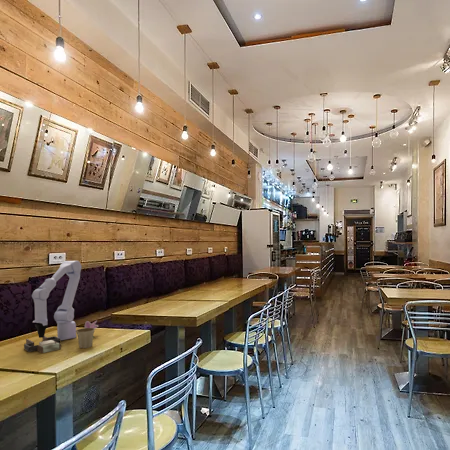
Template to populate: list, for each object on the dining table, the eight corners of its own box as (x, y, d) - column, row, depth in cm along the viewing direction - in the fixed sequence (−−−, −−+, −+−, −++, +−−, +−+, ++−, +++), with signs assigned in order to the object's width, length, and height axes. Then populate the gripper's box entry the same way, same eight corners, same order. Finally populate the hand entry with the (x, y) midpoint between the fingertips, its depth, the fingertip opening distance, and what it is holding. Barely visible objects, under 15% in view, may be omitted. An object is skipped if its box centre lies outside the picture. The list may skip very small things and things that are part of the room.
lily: (102, 335, 223) (96, 321, 225) (104, 331, 213) (97, 316, 215) (82, 345, 217) (75, 330, 219) (82, 341, 207) (76, 325, 209)
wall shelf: (51, 338, 216) (51, 333, 216) (68, 347, 196) (68, 341, 196) (18, 345, 204) (18, 339, 204) (33, 354, 184) (33, 348, 184)
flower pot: (99, 345, 198) (99, 328, 198) (85, 350, 189) (85, 332, 190) (85, 343, 202) (85, 327, 202) (71, 348, 193) (71, 331, 194)
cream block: (51, 347, 197) (51, 339, 197) (55, 349, 193) (55, 341, 193) (39, 350, 193) (39, 342, 194) (42, 352, 189) (42, 344, 189)
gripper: (28, 311, 205) (29, 336, 205) (36, 314, 195) (37, 341, 194) (42, 309, 210) (43, 334, 209) (51, 312, 199) (52, 338, 199)
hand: (41, 337), depth 202 cm, fingers closed
